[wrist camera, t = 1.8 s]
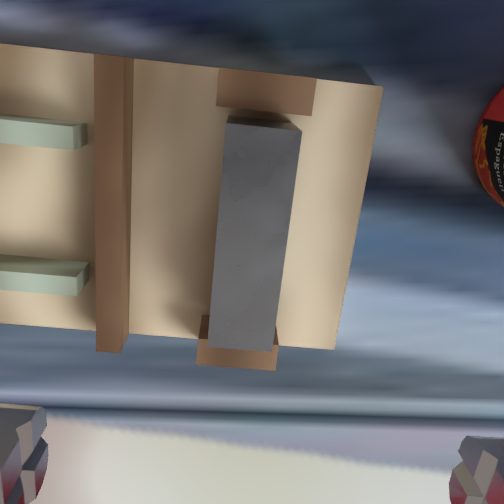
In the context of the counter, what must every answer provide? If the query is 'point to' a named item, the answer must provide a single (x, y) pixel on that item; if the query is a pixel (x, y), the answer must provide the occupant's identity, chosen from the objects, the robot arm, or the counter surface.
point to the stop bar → (252, 231)
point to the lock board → (165, 195)
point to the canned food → (491, 148)
